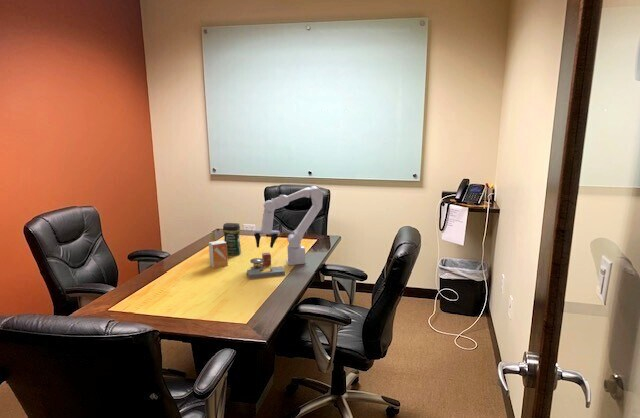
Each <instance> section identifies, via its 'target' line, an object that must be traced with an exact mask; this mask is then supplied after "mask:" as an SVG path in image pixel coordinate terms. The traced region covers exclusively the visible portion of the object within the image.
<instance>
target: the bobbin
mask: <svg viewBox="0 0 640 418" xmlns="http://www.w3.org/2000/svg"><path fill="white" fill-rule="evenodd" d="M263 262H264V259H262V257H256V258H254V257H253V258H252V259H251V258H250V263H251V264H253V265H252V266H250V269H259V270H260V272H262V271H264V270H265V266H262V264H263Z"/></svg>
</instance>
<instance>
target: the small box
mask: <svg viewBox="0 0 640 418" xmlns="http://www.w3.org/2000/svg"><path fill="white" fill-rule="evenodd" d="M208 257H209V266H210V267H212V268H213V269H216V268H221V267H228V266H229V260H228V257H229V256H228V255H227V242H225V241H224V240H223V239H222V240H216V241H215V240H214V241H209V242H208Z"/></svg>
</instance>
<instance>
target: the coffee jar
mask: <svg viewBox="0 0 640 418" xmlns="http://www.w3.org/2000/svg"><path fill="white" fill-rule="evenodd" d="M240 231H241V227H240V223H236V222H226V223H224V224H223V226H222V232H223V236H224V240H223V241H225V242H227V256H238V255H241V254H242V247H241V242H240V241H241V240H240V239H241V238H240Z"/></svg>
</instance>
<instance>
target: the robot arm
mask: <svg viewBox="0 0 640 418" xmlns="http://www.w3.org/2000/svg"><path fill="white" fill-rule="evenodd" d="M301 198H308V199H309V198H310V199H311V204H312V205H311V207H310V208H309V210H308V211H307V213H306V214H305V215H304V216H303V219H302V220H301V221H300V223H299V224H298V226H297V227H296V228H295V229H294V230H293V231H292V232H291V233H290V234H288V236H287V241H288V245H287V259H286V260H285V261H286V263H287V265H289V266H292V265H293V266H294V265H303V264H304V265H305V264H306V263H307V262H306V248H305V246H303V245H301V244H302V243H301V242H302V240H303V238H304V235H305V234H306V232H307V230H308V229H309V227H310V226H311V224H312V223H313V221H314V220H315V218H316V217H317V215H318V214H319V212H320V211H321V210H322V208H323V201H324V200H323V199H324V195H323V192H322V190H321V189H320V188H319V187H318V186H316V185H311V186H310V187H309V186H308V187H305V188H302V189H300V190H298V191H296V192H293V193H291V194H289V195H286V194H279V196H277V197H274V198H273V197H272V198H270V199H271V200H270V199H268V200H265V202H264V204H263V207H264V208H263V214H262V220H261V227H260V228H261V229H260V228H259V229H252V234H253V236H254V238H255V243H256V248H257V249H259V248H260V240H261V237H262V236H261V235H270V244H269V247H270V248H271V249H272V248H273V247H274V244H275V243H276V241H277V240H278V238H279V236H280V230H273V225H274V218H275V217H274V216H275V215H274V214H275V210H278V209H281V208H283V207H285V206H288V205H290V204H289V203H290V202H293V201H295V200H298V199H301Z"/></svg>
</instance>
